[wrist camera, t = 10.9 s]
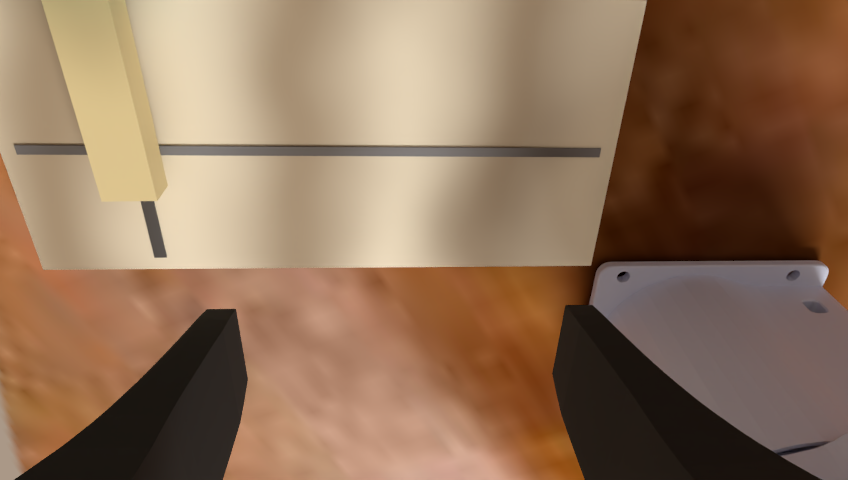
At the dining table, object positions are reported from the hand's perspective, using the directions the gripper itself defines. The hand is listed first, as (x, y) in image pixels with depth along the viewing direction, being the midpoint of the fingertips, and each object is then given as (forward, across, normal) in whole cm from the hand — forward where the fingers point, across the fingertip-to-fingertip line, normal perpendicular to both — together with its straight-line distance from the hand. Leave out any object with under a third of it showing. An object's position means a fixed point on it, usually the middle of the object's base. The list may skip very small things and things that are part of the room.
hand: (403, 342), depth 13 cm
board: (+9, +2, -2) cm, 10 cm away
